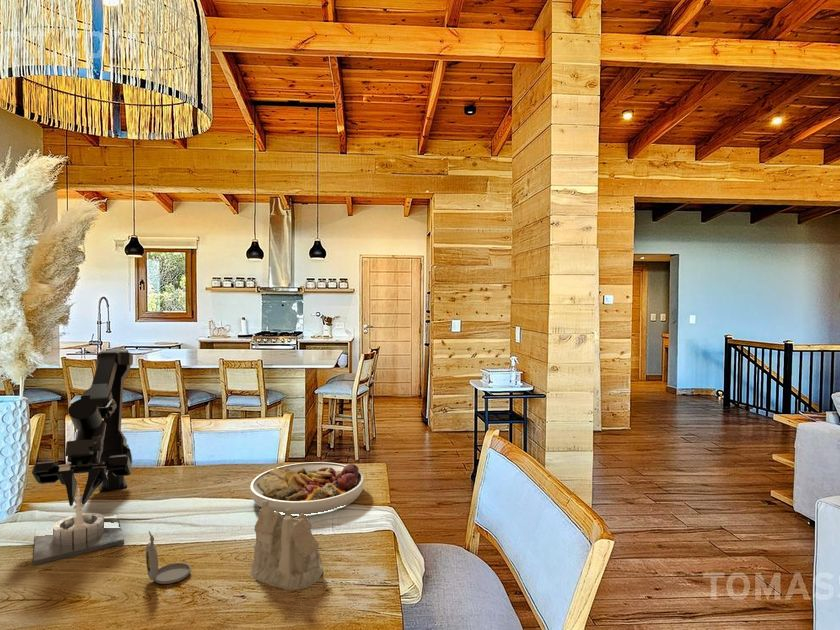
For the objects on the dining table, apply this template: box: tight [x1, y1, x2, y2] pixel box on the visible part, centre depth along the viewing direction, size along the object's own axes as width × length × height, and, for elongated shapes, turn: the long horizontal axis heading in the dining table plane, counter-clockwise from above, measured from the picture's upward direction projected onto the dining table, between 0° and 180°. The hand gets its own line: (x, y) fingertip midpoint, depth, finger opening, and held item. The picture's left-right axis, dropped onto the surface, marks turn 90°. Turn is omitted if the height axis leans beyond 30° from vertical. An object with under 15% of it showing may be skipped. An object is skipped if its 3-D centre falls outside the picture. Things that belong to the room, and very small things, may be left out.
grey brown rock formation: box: [250, 499, 324, 591], centre depth 106 cm, size 16×16×15 cm
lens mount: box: [32, 512, 125, 566], centre depth 116 cm, size 16×16×4 cm
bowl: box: [249, 461, 365, 515], centre depth 141 cm, size 30×30×8 cm
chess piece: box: [68, 486, 90, 529], centre depth 116 cm, size 5×5×10 cm
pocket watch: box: [145, 530, 192, 585], centre depth 100 cm, size 8×8×10 cm
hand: (76, 504), depth 114 cm, fingers closed on chess piece
